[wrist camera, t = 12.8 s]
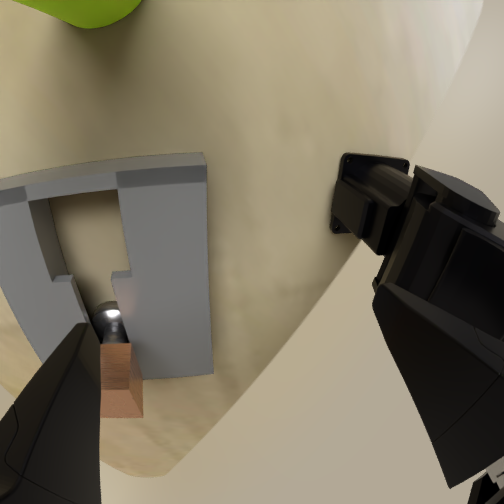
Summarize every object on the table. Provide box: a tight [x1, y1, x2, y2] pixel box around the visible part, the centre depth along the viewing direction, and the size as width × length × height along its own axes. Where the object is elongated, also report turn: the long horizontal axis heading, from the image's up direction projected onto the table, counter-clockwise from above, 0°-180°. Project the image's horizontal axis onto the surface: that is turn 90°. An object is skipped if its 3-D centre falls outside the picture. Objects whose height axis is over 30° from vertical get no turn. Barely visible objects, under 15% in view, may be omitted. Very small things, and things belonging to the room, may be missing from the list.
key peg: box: [91, 301, 143, 418], centre depth 20 cm, size 4×4×8 cm
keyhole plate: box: [0, 152, 214, 380], centre depth 20 cm, size 18×16×3 cm
